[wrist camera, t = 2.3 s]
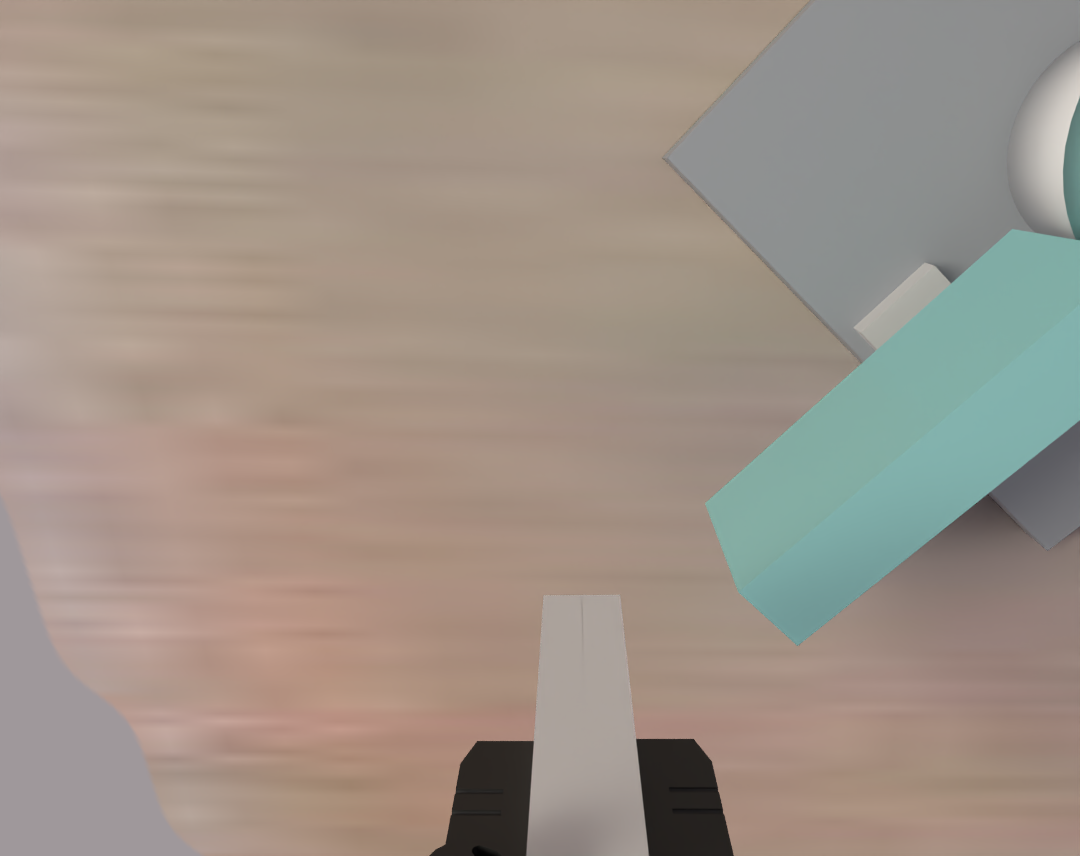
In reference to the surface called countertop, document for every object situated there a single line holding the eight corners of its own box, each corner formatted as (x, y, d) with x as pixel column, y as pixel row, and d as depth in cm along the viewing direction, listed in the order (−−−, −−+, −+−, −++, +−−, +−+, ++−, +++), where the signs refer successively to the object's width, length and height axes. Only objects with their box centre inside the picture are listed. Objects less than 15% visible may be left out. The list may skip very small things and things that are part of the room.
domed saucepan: (1220, -115, 21) (1505, -234, 15) (1400, 134, 23) (1726, 126, 16) (636, 439, 27) (656, 531, 20) (816, 606, 29) (888, 740, 22)
